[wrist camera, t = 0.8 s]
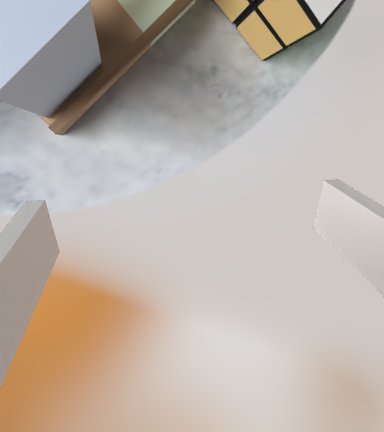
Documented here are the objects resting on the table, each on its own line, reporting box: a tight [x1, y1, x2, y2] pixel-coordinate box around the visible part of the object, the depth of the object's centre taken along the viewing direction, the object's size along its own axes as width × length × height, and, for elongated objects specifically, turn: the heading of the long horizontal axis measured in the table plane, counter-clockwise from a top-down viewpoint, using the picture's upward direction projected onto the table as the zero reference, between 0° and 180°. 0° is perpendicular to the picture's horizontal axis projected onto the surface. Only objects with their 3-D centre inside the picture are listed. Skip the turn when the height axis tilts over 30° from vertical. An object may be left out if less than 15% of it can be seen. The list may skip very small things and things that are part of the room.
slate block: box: [0, 0, 102, 118], centre depth 20 cm, size 5×7×13 cm
